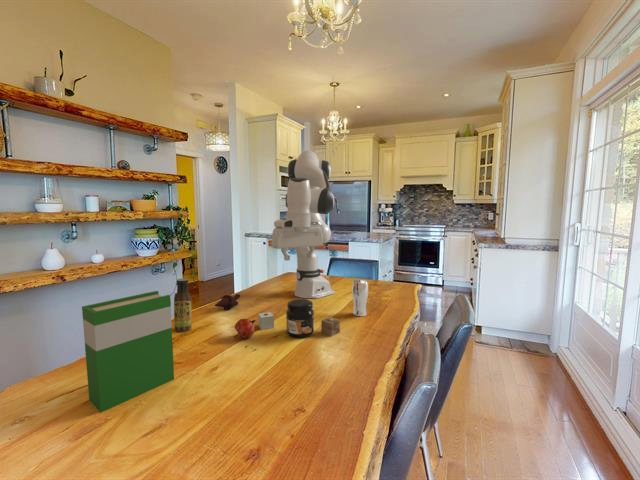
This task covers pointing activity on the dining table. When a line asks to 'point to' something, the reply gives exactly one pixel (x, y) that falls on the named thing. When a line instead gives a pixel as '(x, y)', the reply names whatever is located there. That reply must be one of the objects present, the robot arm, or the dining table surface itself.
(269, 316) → the sage cube
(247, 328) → the pomegranate
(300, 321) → the supplement container
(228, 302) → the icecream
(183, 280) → the sauce bottle
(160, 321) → the hardback book
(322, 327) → the walnut cube
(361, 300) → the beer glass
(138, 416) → the dining table surface
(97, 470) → the dining table surface
